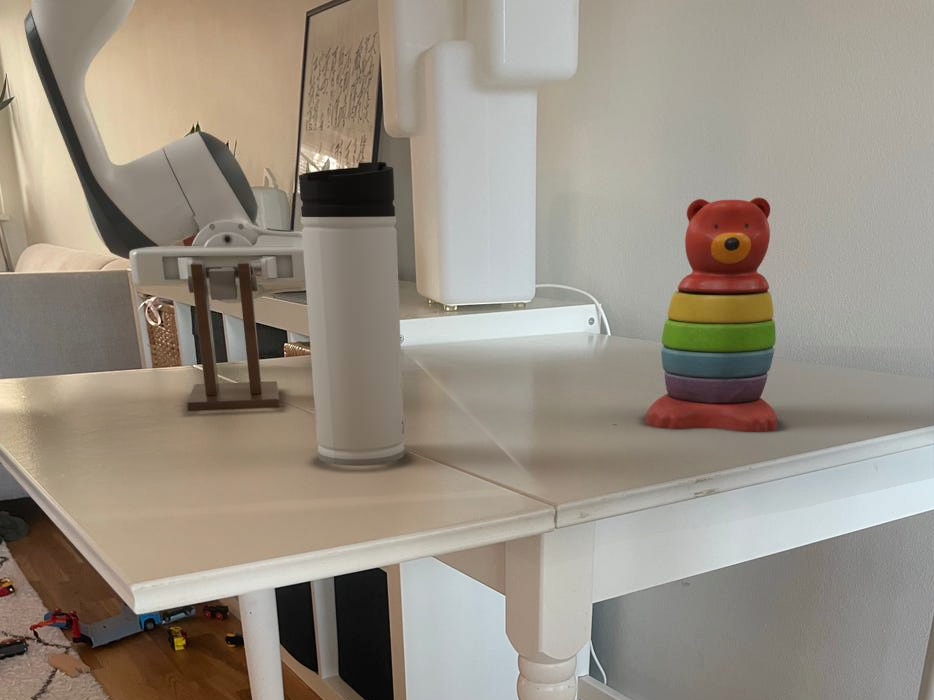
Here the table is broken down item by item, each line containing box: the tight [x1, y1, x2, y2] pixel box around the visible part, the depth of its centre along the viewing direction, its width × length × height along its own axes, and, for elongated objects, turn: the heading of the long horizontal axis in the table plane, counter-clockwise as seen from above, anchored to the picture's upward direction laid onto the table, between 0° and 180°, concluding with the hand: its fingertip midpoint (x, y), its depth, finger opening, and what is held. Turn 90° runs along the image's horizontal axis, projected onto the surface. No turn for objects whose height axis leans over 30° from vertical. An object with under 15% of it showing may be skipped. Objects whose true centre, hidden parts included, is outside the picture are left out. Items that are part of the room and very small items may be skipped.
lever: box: [205, 266, 253, 301], centre depth 93 cm, size 16×5×2 cm, turn 12°
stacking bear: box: [645, 197, 778, 433], centre depth 81 cm, size 11×10×18 cm
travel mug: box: [298, 161, 405, 467], centre depth 67 cm, size 6×7×20 cm
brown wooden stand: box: [186, 261, 280, 412], centre depth 89 cm, size 10×8×13 cm
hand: (227, 270), depth 99 cm, fingers closed on lever, 5 cm apart
